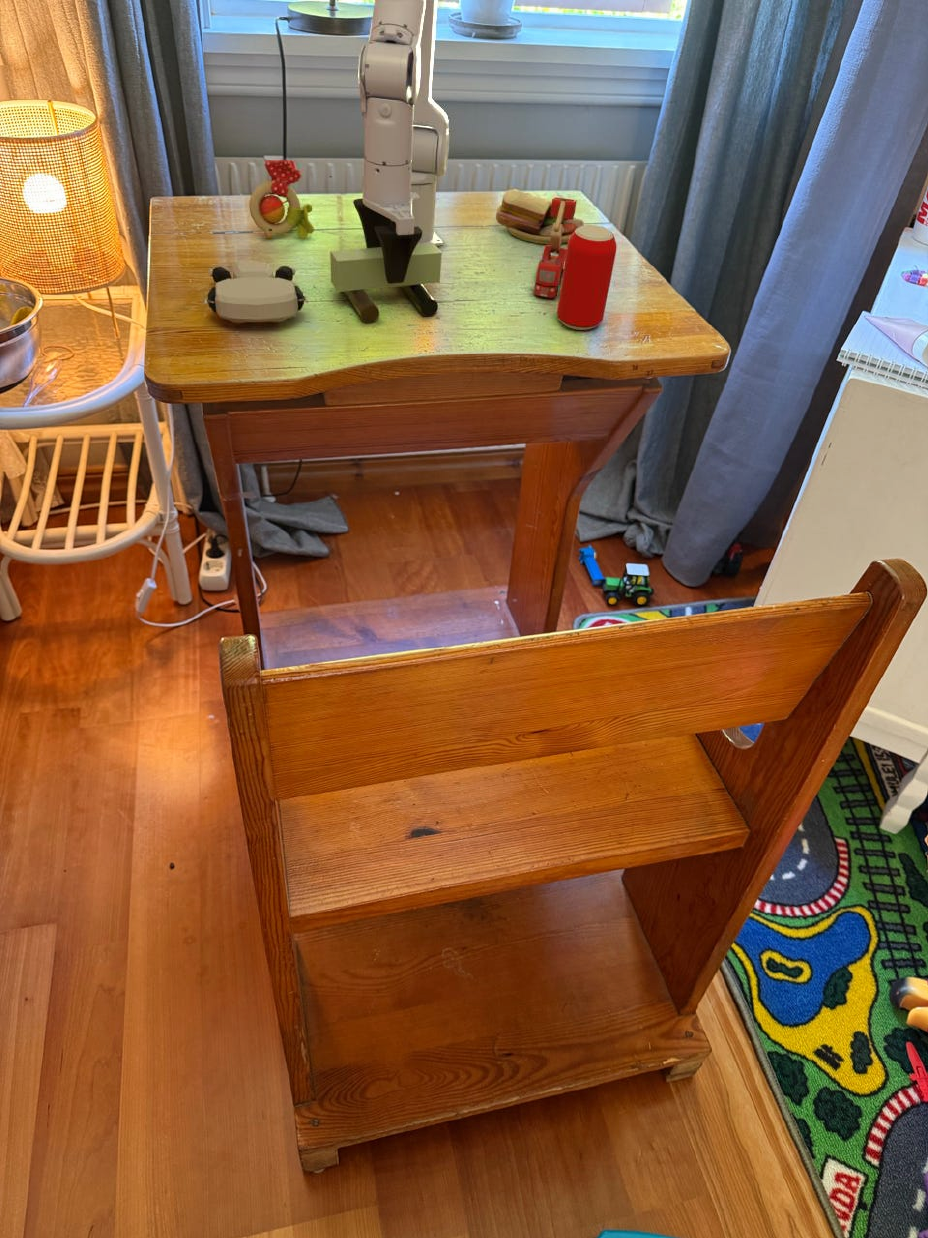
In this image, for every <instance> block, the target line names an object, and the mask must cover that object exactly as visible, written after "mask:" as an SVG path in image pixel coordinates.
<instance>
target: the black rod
mask: <svg viewBox="0 0 928 1238" xmlns="http://www.w3.org/2000/svg"><path fill="white" fill-rule="evenodd" d="M400 287H401V288H402V290H403V292H405V294H406V295H407V296H408V297H409V299H410V300H411V301H412V303H413V304H414V305H415V307H416V308H417V309H418V311H419V312H420V314H421V315H422V316H424V317H426V318H430V317H433V316H434V315H435V314H436V313H437V311H438V310H439V305H438V302H437V301H436V299H435V298H434V297H433V296H432V294H431V293H430V291H429V290H428V289H427V288H426V287H425V285H424V284H418V285H408V286H400Z"/></svg>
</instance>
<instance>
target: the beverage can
mask: <svg viewBox="0 0 928 1238" xmlns="http://www.w3.org/2000/svg"><path fill="white" fill-rule="evenodd" d="M617 248H618V247H617V241H616V238H615V236H614V233H613V231H611V230H610V229H608V228H607V227H604V226H601V225H596V224H584V225H583V226H580V227H578V228H577V229H576V230H575V231H574V232H573V234H572V235H571V236H570V238H569V240H568V242H567V245H566V249H567V251H566V257H565V262H564V268H563V269H564V270H563V277H562V280H561V283H560V291H559V297H558V303H557V309H556V315H557V319H558V321H559V322H560V323H562V324H563V325H564V326H566V327H567V328H570V329H572V330H577V331H587V330H591V329H593V328H596V327H598V326H599V325H600V324H601V323H602V322H603V320H604V317H605V311H606V305H607V300H608V297H609V290H610V285H611V280H612V275H613V269H614V264H615V259H616V254H617Z"/></svg>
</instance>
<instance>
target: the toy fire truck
mask: <svg viewBox="0 0 928 1238" xmlns="http://www.w3.org/2000/svg"><path fill="white" fill-rule="evenodd" d="M551 202H552V203H551V215H550V217H556V218H557V220H556V223H553V227H552V231H551V244H544V245H545V246H544V248H543V251H542V255H541V259H539V261H538V265H537V269H536V276H535V283H534V289H533V294H534V295H535V296H538V297H543V298H550V299H552V298H556V297H558V295H559V288H560V287H559V285H561V283H562V277H563V270H564V264H565V257H566V251H567V248H565V247H561V246H562V244H561V238H562V224H561V222H562V218H563V219H571V220H573V217H574V218H575V214H576V210H577V202H578V200H577V199H571V198H565V197H564V198H563V197H556V196H554V197H552V199H551ZM554 253H556V254H557V255H555V254H554Z"/></svg>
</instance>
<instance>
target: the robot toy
mask: <svg viewBox="0 0 928 1238" xmlns="http://www.w3.org/2000/svg"><path fill="white" fill-rule="evenodd" d="M296 271H297V269H296V267H290V266H289V265H281V266H279V267H278V268H277V269H276V270H275V274H274V268H273V267H272V266H271V265H270V263H268V262H265V261H261V260H260V261H259V260H248V261H247V260H245V261H241V262H237V263H235V265H234V266H233V267H232V275H231V271H229V270H228V269H227V268H225V267H222V266H216V267H214V268H209V269H208V274H209V275H210V277H212V280H213V282H214V283H215V286H214V287H211V289H210V291H209V292H208V294H207V297H204V306H208V308H210V309H211V311H212V312H213V313H215V314H217V316H218V317H219V318H220V319H223V320H225V321H230V322H232V323H234V324H243V323H266V322H267V323H268V322H273V323H281V322H284V321H285V320H288V319H290V318H293V317H295V316H297V313H298V312H300V311H301V310H302V308H303V306H304V305H305V303H306V304H308V303H309V299H308V298H307V295H304V292H303V291H302V289H300V287H299V286H297V285H294V283H293V278H294V276H295V274H296Z"/></svg>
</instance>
